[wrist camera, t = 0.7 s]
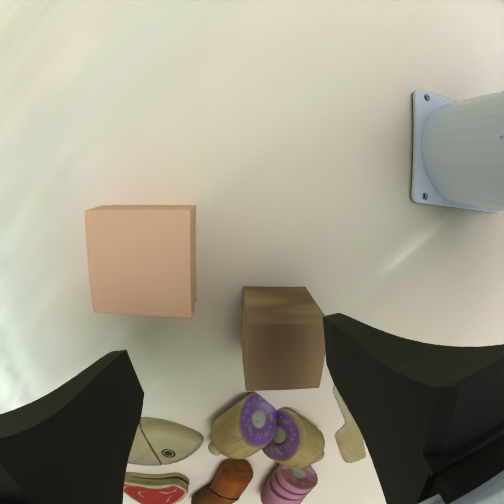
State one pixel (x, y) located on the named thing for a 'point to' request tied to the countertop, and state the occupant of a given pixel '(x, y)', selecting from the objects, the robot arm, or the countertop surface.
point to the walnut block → (281, 339)
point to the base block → (142, 259)
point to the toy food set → (238, 454)
